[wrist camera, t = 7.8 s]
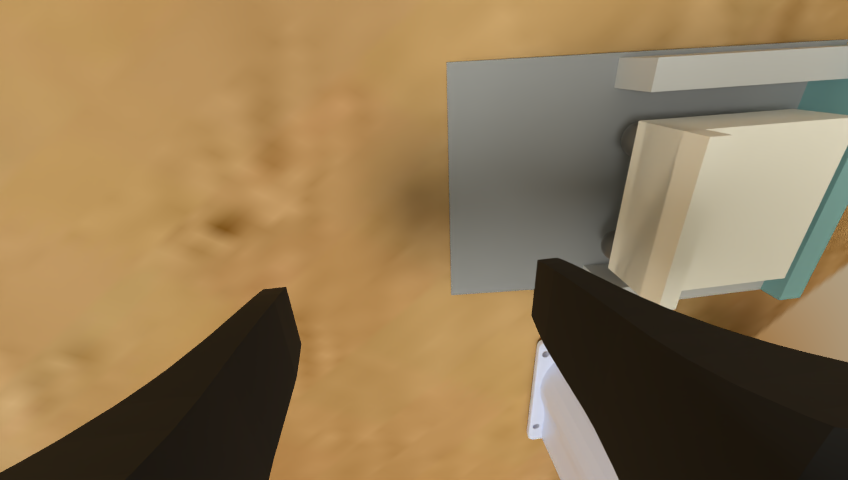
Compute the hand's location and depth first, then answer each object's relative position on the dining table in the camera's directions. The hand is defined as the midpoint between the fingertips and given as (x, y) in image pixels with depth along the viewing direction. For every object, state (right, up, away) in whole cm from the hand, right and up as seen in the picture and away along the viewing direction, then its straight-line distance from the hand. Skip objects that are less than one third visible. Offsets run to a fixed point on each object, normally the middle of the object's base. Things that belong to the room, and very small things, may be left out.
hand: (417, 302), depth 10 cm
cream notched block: (+12, +5, +7) cm, 15 cm away
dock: (+11, +5, +8) cm, 15 cm away
